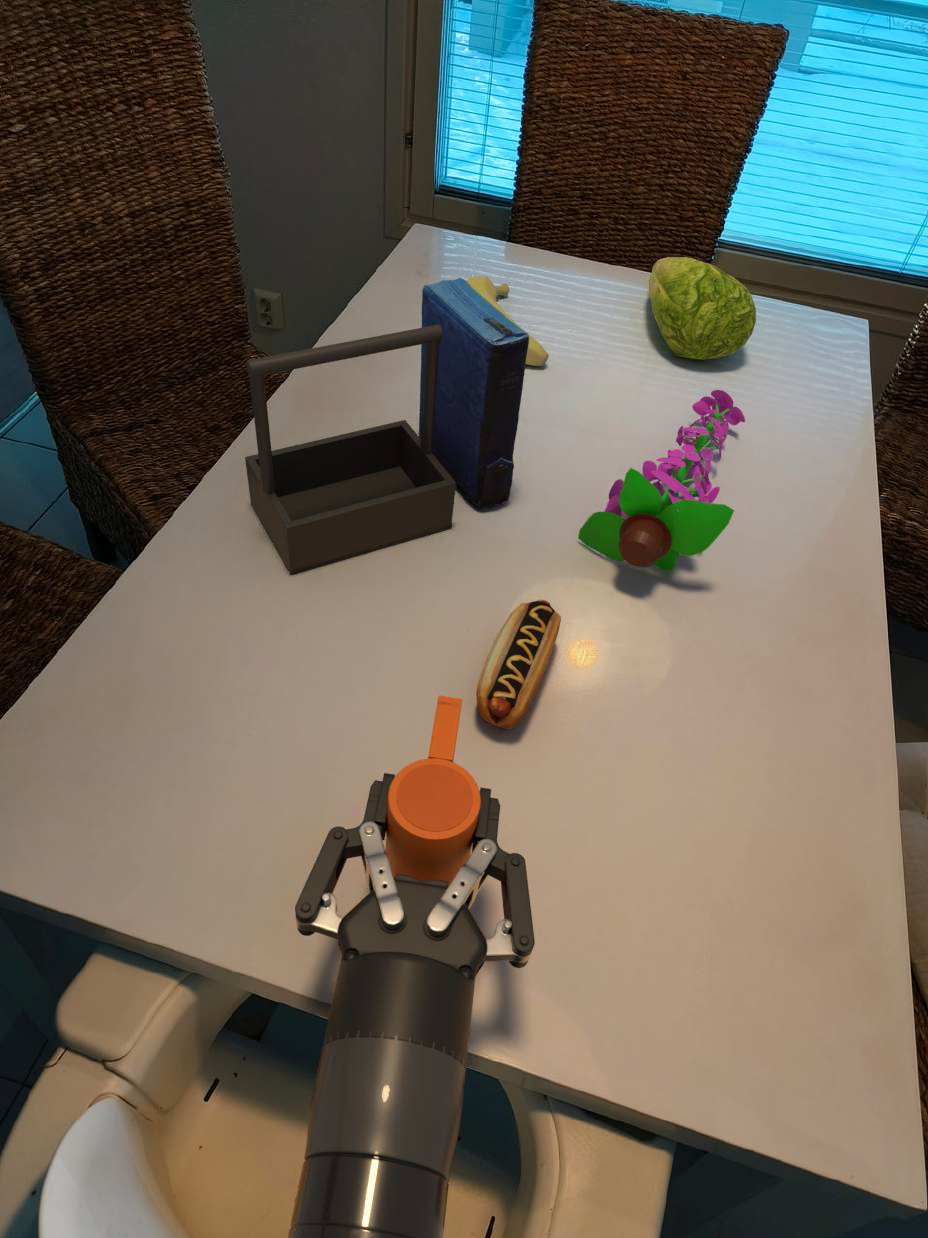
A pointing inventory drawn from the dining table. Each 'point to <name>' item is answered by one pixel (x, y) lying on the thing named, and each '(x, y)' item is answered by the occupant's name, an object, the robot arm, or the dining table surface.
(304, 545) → the basket
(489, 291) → the banana
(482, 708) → the hot dog
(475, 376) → the book
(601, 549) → the potted plant
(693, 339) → the lettuce
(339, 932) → the robot arm
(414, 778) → the measuring cup
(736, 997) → the dining table surface
